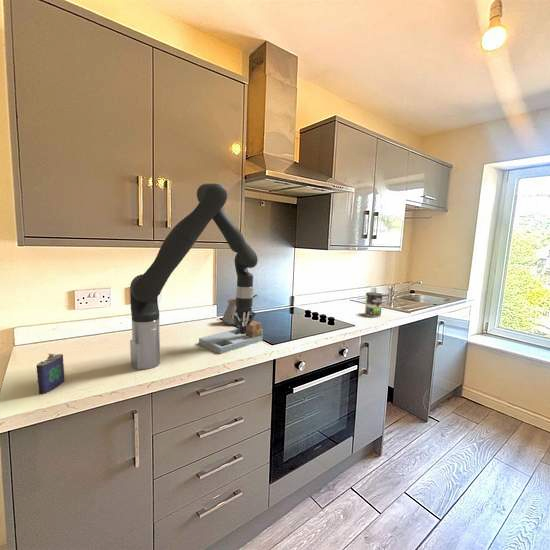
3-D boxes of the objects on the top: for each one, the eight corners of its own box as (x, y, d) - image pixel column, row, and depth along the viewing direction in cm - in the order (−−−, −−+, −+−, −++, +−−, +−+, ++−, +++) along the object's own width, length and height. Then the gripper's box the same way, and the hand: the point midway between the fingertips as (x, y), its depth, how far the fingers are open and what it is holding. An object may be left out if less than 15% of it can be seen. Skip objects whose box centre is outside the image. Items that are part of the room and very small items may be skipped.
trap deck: (220, 354, 124) (220, 341, 123) (198, 343, 134) (198, 331, 134) (262, 340, 141) (262, 329, 140) (240, 332, 152) (240, 321, 151)
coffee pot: (227, 327, 159) (228, 299, 157) (219, 321, 169) (219, 295, 167) (262, 322, 171) (263, 296, 169) (252, 317, 181) (252, 292, 179)
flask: (59, 379, 98) (57, 348, 97) (68, 380, 98) (66, 348, 97) (35, 394, 89) (33, 359, 88) (45, 395, 89) (43, 360, 88)
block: (252, 338, 136) (253, 325, 136) (245, 335, 140) (245, 322, 139) (260, 335, 140) (261, 323, 139) (253, 333, 143) (253, 321, 143)
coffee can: (384, 316, 192) (386, 295, 191) (369, 317, 190) (371, 295, 188) (375, 312, 202) (377, 292, 201) (361, 313, 200) (363, 292, 198)
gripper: (238, 298, 127) (236, 338, 129) (260, 296, 137) (258, 333, 139) (227, 296, 133) (225, 334, 134) (249, 293, 142) (248, 329, 144)
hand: (242, 333), depth 137 cm, fingers closed
